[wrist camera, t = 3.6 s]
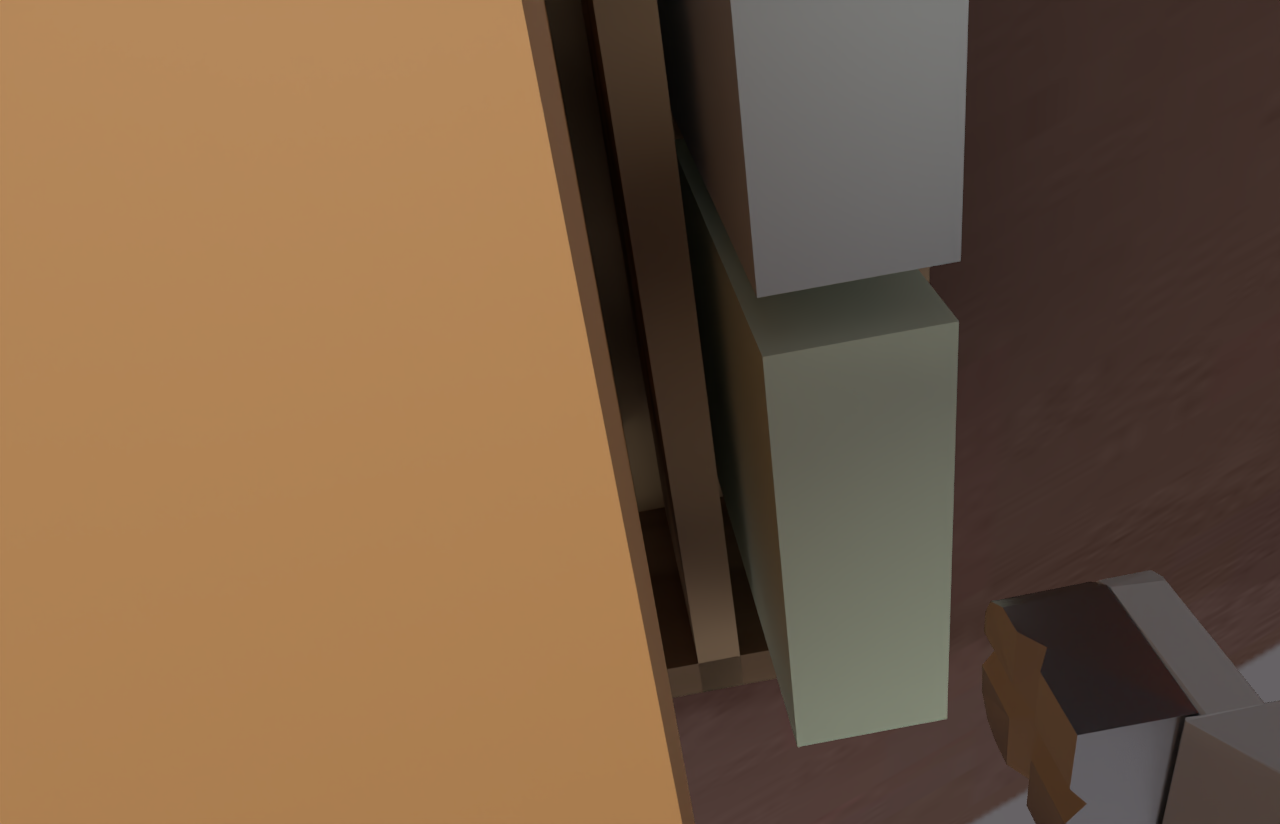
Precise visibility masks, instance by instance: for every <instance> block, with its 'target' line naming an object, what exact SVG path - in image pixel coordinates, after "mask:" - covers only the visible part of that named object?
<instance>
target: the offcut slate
mask: <svg viewBox="0 0 1280 824" xmlns="http://www.w3.org/2000/svg"><path fill="white" fill-rule="evenodd" d="M657 6H658V13H659V21H660V29H661V37H662V45H663V53H664V61H665V69H666V76H667V84H668V92H669V100H670V108H671V112H672V114H673V116H674V118H675V120H676V123H677V125H678V127H679V129H680V131H681V133H682V136H683V138H684V140H685V142H686V144H687V147H688V149H689V151H690V153H691V155H692V157H693V160H694V162H695V164H696V166H697V168H698V170H699V173H700V175H701V177H702V179H703V181H704V183H705V186H706V188H707V190H708V192H709V194H710V197H711V199H712V201H713V203H714V205H715V207H716V210H717V212H718V214H719V216H720V218H721V220H722V223H723V225H724V227H725V229H726V231H727V233H728V236H729V238H730V240H731V242H732V244H733V247H734V249H735V251H736V253H737V255H738V257H739V260H740V262H741V264H742V266H743V268H744V270H745V273H746V275H747V277H748V279H749V281H750V283H751V286H752V288H753V290H754V292H755V294H756V297H757V298H760V297H766V296H771V295H777V294H782V293H788V292H793V291H799V290H804V289H810V288H815V287H821V286H826V285H832V284H837V283H843V282H848V281H854V280H859V279H865V278H870V277H876V276H881V275H887V274H893V273H898V272H904V271H909V270H915V269H920V268H926V267H931V266H937V265H942V264H948V263H953V262H959V261H961V237H962V204H963V171H964V138H965V105H966V72H967V39H968V6H969V0H657Z"/></svg>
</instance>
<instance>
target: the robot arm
mask: <svg viewBox="0 0 1280 824" xmlns="http://www.w3.org/2000/svg"><path fill="white" fill-rule="evenodd" d="M984 632H985V634H986V636H987V638H988V640H989V642H990V643H991V645H992V647H993V649H994V652H993V653H992V655H991V656H990V657H989V658H988V659H987V660H986V662H985V663H984V664H983V665H982V693H983V699H984V704H985V709H986V714H987V719H988V722H989V725H990V728H991V730H992V733H993V736H994V739H995V741H996V744H997V746H998V748H999V750H1000V752H1001V754H1002V756H1003V758H1004V760H1005V762H1006V764H1007V765H1008V766H1010V767H1011V768H1013V769H1015V770H1016V771H1018V772H1019V773H1021V774H1022V775H1024V776H1025V777H1027V778H1028V779H1029V785H1028V797H1027V807H1028V809H1029V811H1030V813H1031V815H1032V817H1033V819H1034V821H1035V823H1036V824H1280V701H1274V702H1268V703H1264V702H1263V701H1262V699H1261V698H1260V697H1259V696H1258V694H1257V693H1256V692H1255V691H1254V689H1253V688H1252V687H1251V686H1250V684H1249V683H1248V682H1247V681H1246V679H1245V678H1244V677H1243V676H1242V675H1241V673H1240V672H1239V671H1238V669H1237V668H1236V667H1235V666H1234V665H1233V663H1232V662H1231V661H1230V660H1229V658H1228V657H1227V656H1226V655H1225V653H1224V652H1223V651H1222V650H1221V648H1220V647H1219V646H1218V645H1217V643H1216V642H1215V641H1214V640H1213V638H1212V637H1211V636H1210V635H1209V633H1208V632H1207V631H1206V630H1205V629H1204V627H1203V626H1202V625H1201V624H1200V622H1199V621H1198V620H1197V619H1196V617H1195V616H1194V615H1193V614H1192V612H1191V611H1190V610H1189V609H1188V607H1187V606H1186V605H1185V604H1184V602H1183V601H1182V600H1181V599H1180V597H1179V596H1178V595H1177V594H1176V592H1175V591H1174V590H1173V589H1172V588H1171V586H1170V585H1169V584H1168V583H1167V581H1166V580H1165V579H1164V578H1163V577H1162V576H1161V575H1159V574H1157V573H1155V572H1153V571H1152V570H1149V571H1144V572H1139V573H1134V574H1129V575H1124V576H1118V577H1113V578H1108V579H1103V580H1098V581H1096V582H1086V583H1081V584H1076V585H1071V586H1066V587H1061V588H1055V589H1050V590H1045V591H1040V592H1035V593H1030V594H1025V595H1020V596H1015V597H1010V598H1005V599H1000V600H995V601H991V602H990V604H989V606H988V608H987V610H986V614H985V627H984Z"/></svg>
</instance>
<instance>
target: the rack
mask: <svg viewBox="0 0 1280 824" xmlns="http://www.w3.org/2000/svg"><path fill="white" fill-rule="evenodd" d="M545 5H546V10H547V16H548V21H549V26H550V32H551V37H552V43H553V48H554V54H555V59H556V65H557V70H558V75H559V81H560V86H561V92H562V97H563V103H564V108H565V114H566V119H567V124H568V130H569V135H570V141H571V146H572V152H573V157H574V163H575V168H576V174H577V179H578V184H579V190H580V195H581V201H582V206H583V212H584V217H585V223H586V228H587V233H588V239H589V244H590V250H591V255H592V261H593V266H594V272H595V277H596V282H597V288H598V293H599V299H600V304H601V310H602V315H603V321H604V326H605V331H606V337H607V342H608V348H609V353H610V359H611V364H612V370H613V375H614V381H615V386H616V391H617V397H618V402H619V408H620V413H621V419H622V424H623V430H624V435H625V441H626V446H627V452H628V457H629V463H630V468H631V474H632V479H633V485H634V490H635V496H636V501H637V507H638V512H639V518H640V523H641V529H642V534H643V540H644V545H645V551H646V556H647V562H648V568H649V573H650V579H651V584H652V590H653V595H654V601H655V606H656V612H657V617H658V623H659V628H660V634H661V639H662V645H663V650H664V656H665V661H666V667H667V672H668V678H669V683H670V689H671V694H672V698H674V697H680V696H685V695H690V694H696V693H701V692H706V691H712V690H717V689H722V688H728V687H733V686H738V685H744V684H749V683H754V682H760V681H765V680H770V679H776V678H777V676H776V673H775V669H774V666H773V662H772V659H771V656H770V652H769V649H768V646H767V642H766V639H765V635H764V632H763V629H762V625H761V622H760V619H759V615H758V612H757V608H756V605H755V602H754V598H753V595H752V592H751V588H750V585H749V581H748V578H747V575H746V571H745V568H744V565H743V561H742V558H741V554H740V551H739V548H738V544H737V541H736V538H735V534H734V531H733V527H732V524H731V521H730V517H729V514H728V510H727V507H726V504H725V500H724V497H723V494H722V490H721V487H720V483H719V480H718V477H717V470H716V462H715V454H714V446H713V439H712V431H711V423H710V415H709V407H708V399H707V391H706V383H705V376H704V368H703V360H702V352H701V344H700V336H699V328H698V320H697V313H696V305H695V297H694V289H693V281H692V273H691V265H690V257H689V250H688V242H687V234H686V226H685V218H684V210H683V202H682V195H681V187H680V179H679V171H678V163H677V155H676V147H675V140H676V139H682V138H683V136H682V133H681V131H680V129H679V127H678V125H677V123H676V120H675V118H674V116H673V114H672V112H671V108H670V100H669V92H668V84H667V76H666V69H665V61H664V53H663V45H662V37H661V29H660V21H659V13H658V6H657V0H545ZM929 269H930V267H926V268H920V269H918V270H919V271H920V272H921V274H922V275H923V276H924V277H925V279H926V280H927V281H928V282H929Z"/></svg>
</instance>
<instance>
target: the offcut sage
mask: <svg viewBox="0 0 1280 824" xmlns="http://www.w3.org/2000/svg"><path fill="white" fill-rule="evenodd" d="M675 147H676V155H677V163H678V171H679V179H680V187H681V195H682V202H683V210H684V218H685V226H686V234H687V242H688V250H689V257H690V265H691V273H692V281H693V289H694V297H695V305H696V313H697V320H698V328H699V336H700V344H701V352H702V360H703V368H704V376H705V383H706V391H707V399H708V407H709V415H710V423H711V431H712V439H713V446H714V454H715V462H716V470H717V477H718V480H719V483H720V487H721V490H722V494H723V497H724V500H725V504H726V507H727V510H728V514H729V517H730V521H731V524H732V527H733V531H734V534H735V538H736V541H737V544H738V548H739V551H740V554H741V558H742V561H743V565H744V568H745V571H746V575H747V578H748V581H749V585H750V588H751V592H752V595H753V598H754V602H755V605H756V608H757V612H758V615H759V619H760V622H761V625H762V629H763V632H764V635H765V639H766V642H767V646H768V649H769V652H770V656H771V659H772V662H773V666H774V669H775V673H776V676H777V679H778V683H779V686H780V689H781V693H782V696H783V700H784V703H785V706H786V710H787V713H788V716H789V720H790V723H791V727H792V730H793V733H794V737H795V740H796V744H797V747H800V746H806V745H811V744H816V743H822V742H827V741H832V740H838V739H843V738H848V737H853V736H859V735H864V734H869V733H875V732H880V731H885V730H890V729H896V728H901V727H906V726H912V725H917V724H922V723H927V722H933V721H938V720H943V719H947V699H948V666H949V633H950V600H951V567H952V534H953V501H954V468H955V435H956V402H957V369H958V336H959V321H958V319H957V318H956V317H955V316H954V314H953V313H952V312H951V311H950V309H949V308H948V307H947V305H946V304H945V303H944V302H943V300H942V299H941V298H940V297H939V295H938V294H937V293H936V291H935V290H934V289H933V288H932V286H931V285H930V284H929V282H928V281H927V280H926V279H925V277H924V276H923V275H922V274H921V272H920V271H919V270H918V269H915V270H909V271H904V272H898V273H893V274H887V275H881V276H876V277H870V278H865V279H859V280H854V281H848V282H843V283H837V284H832V285H826V286H821V287H815V288H810V289H804V290H799V291H793V292H788V293H782V294H777V295H771V296H766V297H760V298H757V297H756V294H755V292H754V290H753V288H752V286H751V283H750V281H749V279H748V277H747V275H746V273H745V270H744V268H743V266H742V264H741V262H740V260H739V257H738V255H737V253H736V251H735V249H734V247H733V244H732V242H731V240H730V238H729V236H728V233H727V231H726V229H725V227H724V225H723V223H722V220H721V218H720V216H719V214H718V212H717V210H716V207H715V205H714V203H713V201H712V199H711V197H710V194H709V192H708V190H707V188H706V186H705V183H704V181H703V179H702V177H701V175H700V173H699V170H698V168H697V166H696V164H695V162H694V160H693V157H692V155H691V153H690V151H689V149H688V147H687V144H686V142H685V140H684V138H682V139H676V140H675Z"/></svg>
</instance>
